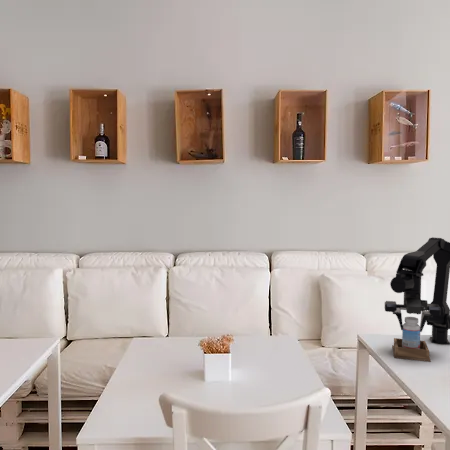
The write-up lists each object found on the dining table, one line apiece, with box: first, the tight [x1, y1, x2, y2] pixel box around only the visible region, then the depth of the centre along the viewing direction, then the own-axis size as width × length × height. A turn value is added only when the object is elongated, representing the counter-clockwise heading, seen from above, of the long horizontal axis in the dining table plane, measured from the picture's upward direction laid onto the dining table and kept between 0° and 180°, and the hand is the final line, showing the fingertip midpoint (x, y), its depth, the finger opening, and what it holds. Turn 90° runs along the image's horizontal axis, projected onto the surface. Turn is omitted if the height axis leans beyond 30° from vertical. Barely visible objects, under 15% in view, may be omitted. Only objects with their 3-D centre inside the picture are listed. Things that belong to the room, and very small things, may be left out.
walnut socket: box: [391, 337, 432, 363], centre depth 161 cm, size 12×12×4 cm
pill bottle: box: [401, 316, 421, 349], centre depth 161 cm, size 6×6×11 cm
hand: (411, 330), depth 161 cm, fingers closed on pill bottle, 6 cm apart
